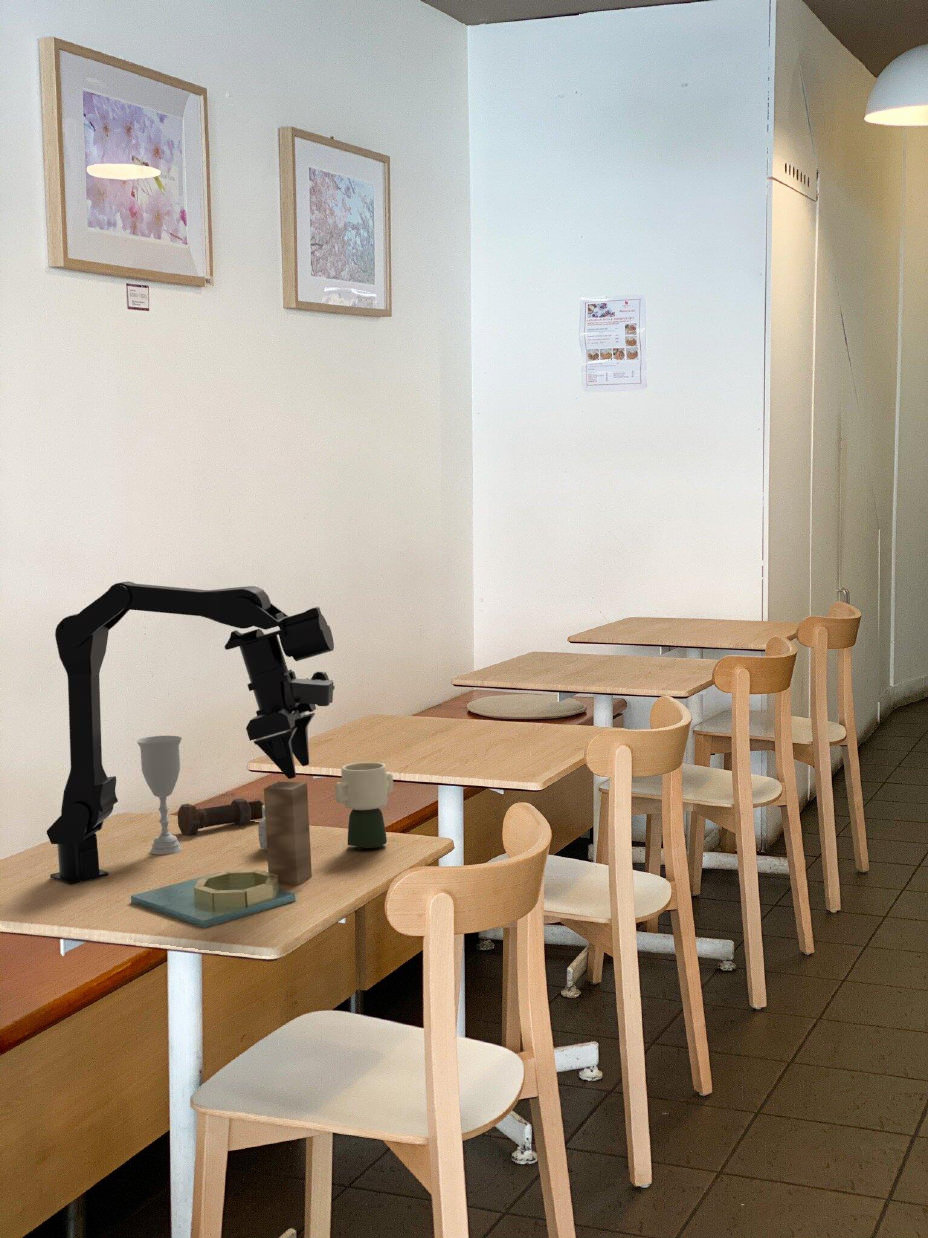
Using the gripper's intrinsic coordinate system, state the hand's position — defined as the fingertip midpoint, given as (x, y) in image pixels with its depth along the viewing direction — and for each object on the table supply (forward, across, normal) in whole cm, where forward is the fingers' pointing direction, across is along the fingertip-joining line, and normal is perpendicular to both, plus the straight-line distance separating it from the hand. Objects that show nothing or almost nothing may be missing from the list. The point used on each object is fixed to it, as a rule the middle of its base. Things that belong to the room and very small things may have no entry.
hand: (299, 771), depth 204 cm
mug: (+13, +15, +11) cm, 23 cm away
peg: (+15, -3, +5) cm, 16 cm away
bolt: (+10, +30, +23) cm, 39 cm away
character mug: (+17, +15, -3) cm, 23 cm away
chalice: (+9, +15, +29) cm, 34 cm away
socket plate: (+12, -13, +14) cm, 23 cm away
